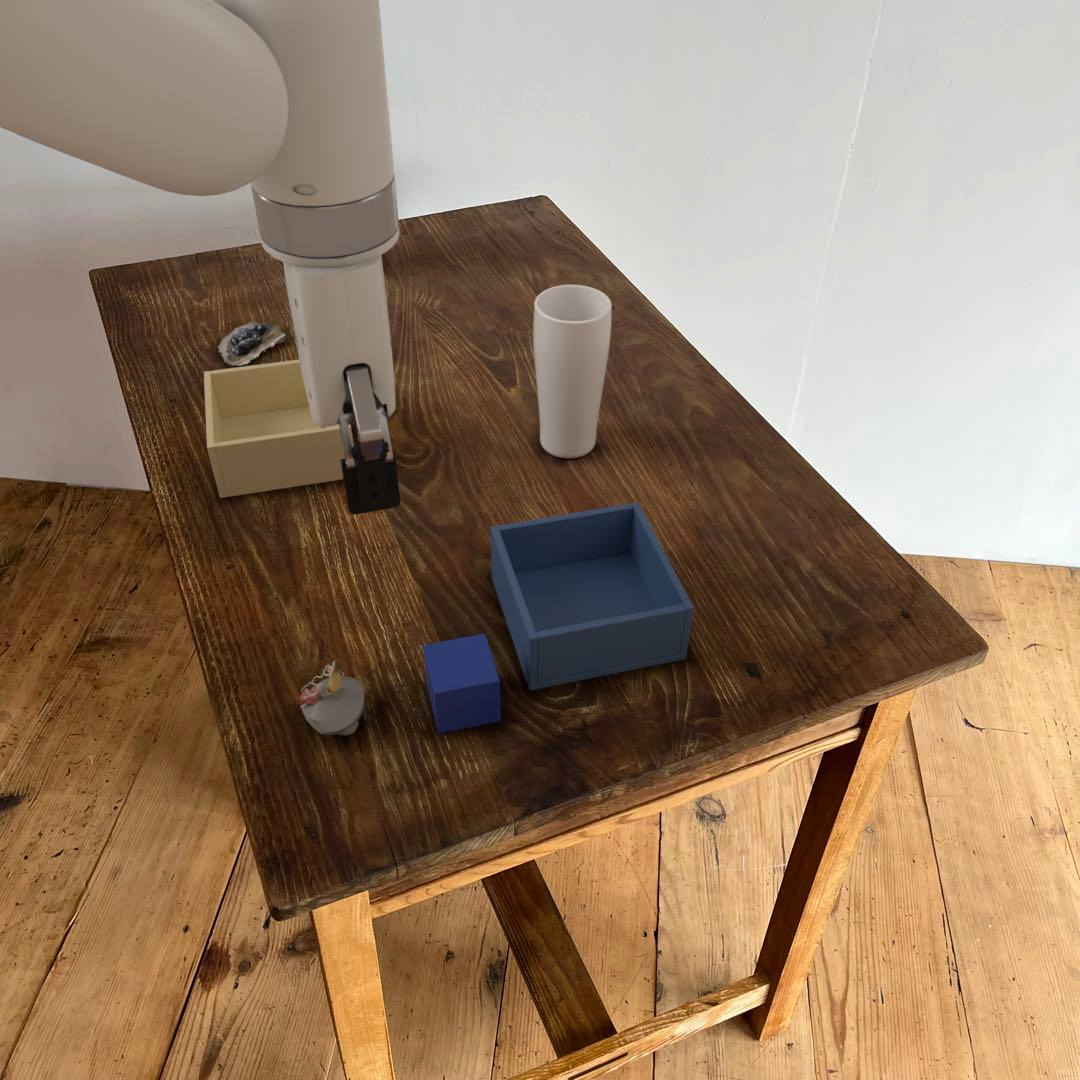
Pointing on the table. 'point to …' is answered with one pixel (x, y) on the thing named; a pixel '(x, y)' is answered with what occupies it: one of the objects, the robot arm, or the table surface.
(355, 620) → the table surface
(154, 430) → the table surface
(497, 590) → the blue bin
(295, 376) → the cream bin
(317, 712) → the figurine
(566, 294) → the drinking glass
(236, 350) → the grey flat lumpy piece
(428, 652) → the blue block
